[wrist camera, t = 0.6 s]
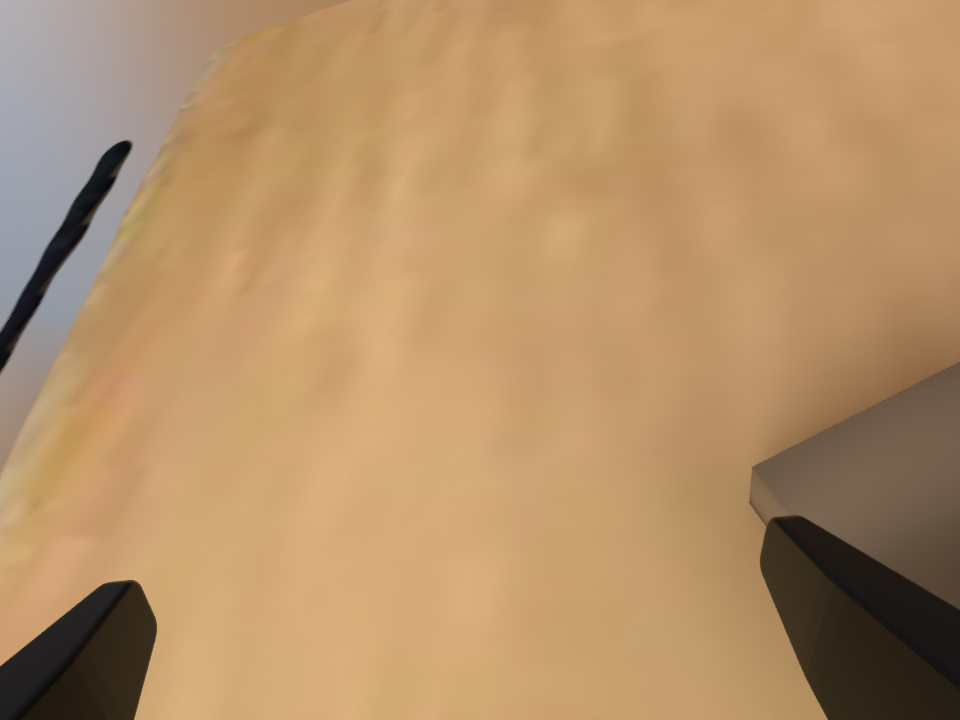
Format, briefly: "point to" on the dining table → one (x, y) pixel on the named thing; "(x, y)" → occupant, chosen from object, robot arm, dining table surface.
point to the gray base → (882, 483)
